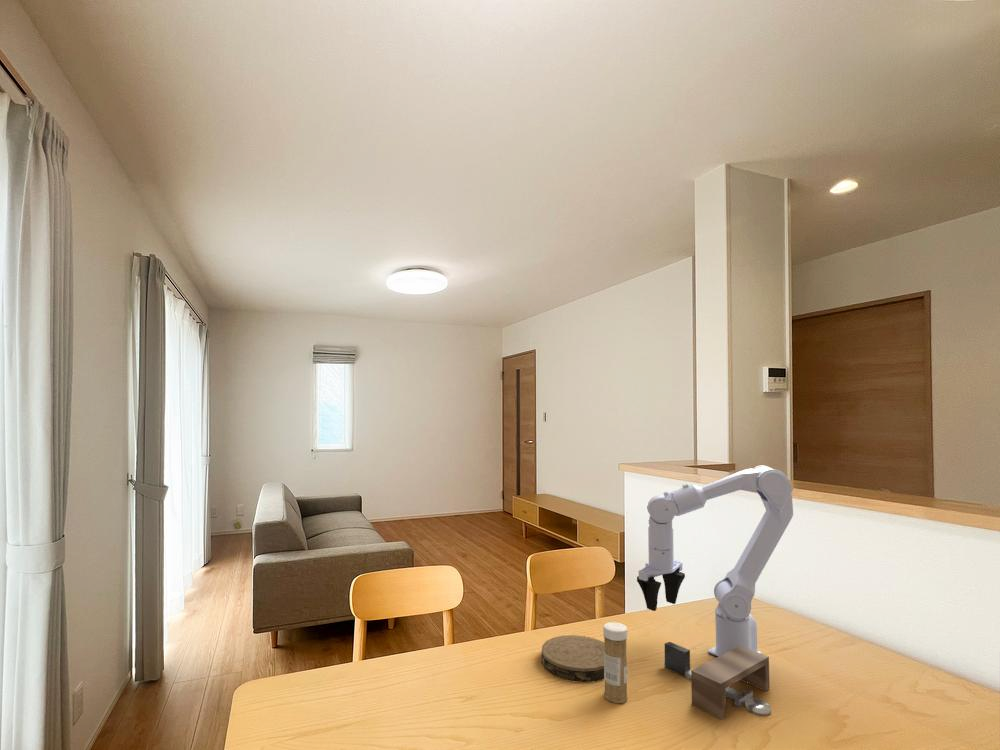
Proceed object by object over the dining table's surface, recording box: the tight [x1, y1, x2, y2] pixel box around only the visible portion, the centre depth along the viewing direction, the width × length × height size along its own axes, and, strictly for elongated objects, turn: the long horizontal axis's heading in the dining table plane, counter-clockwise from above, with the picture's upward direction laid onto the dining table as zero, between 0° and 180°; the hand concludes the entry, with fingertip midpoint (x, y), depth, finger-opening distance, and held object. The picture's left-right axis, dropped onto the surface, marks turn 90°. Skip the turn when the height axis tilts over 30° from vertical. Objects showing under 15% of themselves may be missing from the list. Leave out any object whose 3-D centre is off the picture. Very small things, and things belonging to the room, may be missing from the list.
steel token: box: [744, 698, 772, 716], centre depth 96 cm, size 4×4×1 cm
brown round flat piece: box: [541, 634, 605, 683], centre depth 113 cm, size 16×16×3 cm
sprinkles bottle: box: [602, 621, 629, 704], centre depth 100 cm, size 5×5×13 cm
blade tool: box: [664, 641, 754, 708], centre depth 105 cm, size 18×5×5 cm, turn 37°
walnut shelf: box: [690, 646, 771, 720], centre depth 101 cm, size 18×6×6 cm, turn 127°
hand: (661, 606), depth 122 cm, fingers open, 7 cm apart
